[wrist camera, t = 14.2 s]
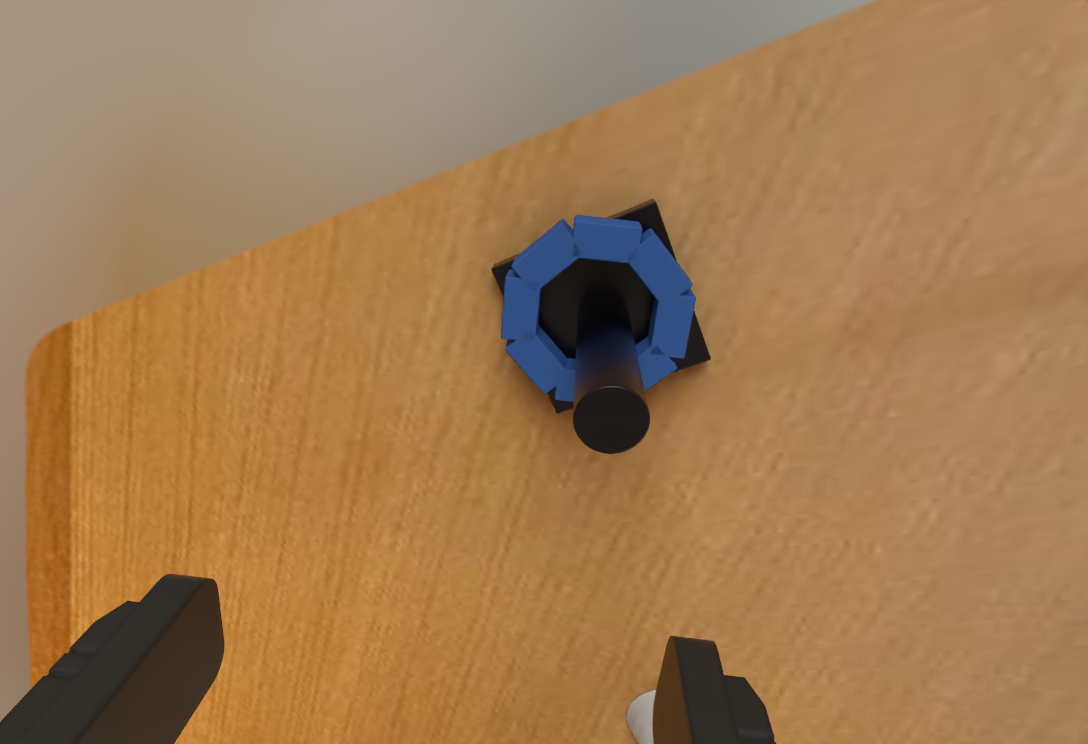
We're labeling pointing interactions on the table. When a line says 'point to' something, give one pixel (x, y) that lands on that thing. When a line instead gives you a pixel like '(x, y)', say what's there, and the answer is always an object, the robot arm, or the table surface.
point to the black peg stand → (606, 339)
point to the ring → (602, 244)
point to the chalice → (642, 717)
